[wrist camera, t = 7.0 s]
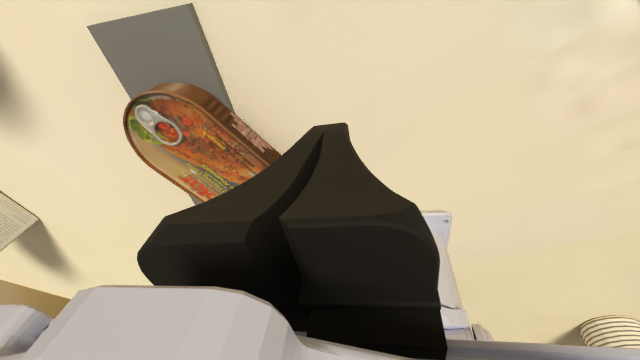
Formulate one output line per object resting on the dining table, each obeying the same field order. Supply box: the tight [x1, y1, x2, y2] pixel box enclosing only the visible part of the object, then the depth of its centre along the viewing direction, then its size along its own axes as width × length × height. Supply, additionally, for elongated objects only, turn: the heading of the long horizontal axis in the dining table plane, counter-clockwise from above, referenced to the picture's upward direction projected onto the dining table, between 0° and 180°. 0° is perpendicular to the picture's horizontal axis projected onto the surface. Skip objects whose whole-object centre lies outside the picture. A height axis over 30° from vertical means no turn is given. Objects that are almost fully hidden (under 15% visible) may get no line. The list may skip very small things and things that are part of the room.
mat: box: [87, 3, 235, 205], centre depth 24 cm, size 17×8×1 cm, turn 10°
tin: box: [123, 82, 281, 203], centre depth 24 cm, size 15×3×8 cm
